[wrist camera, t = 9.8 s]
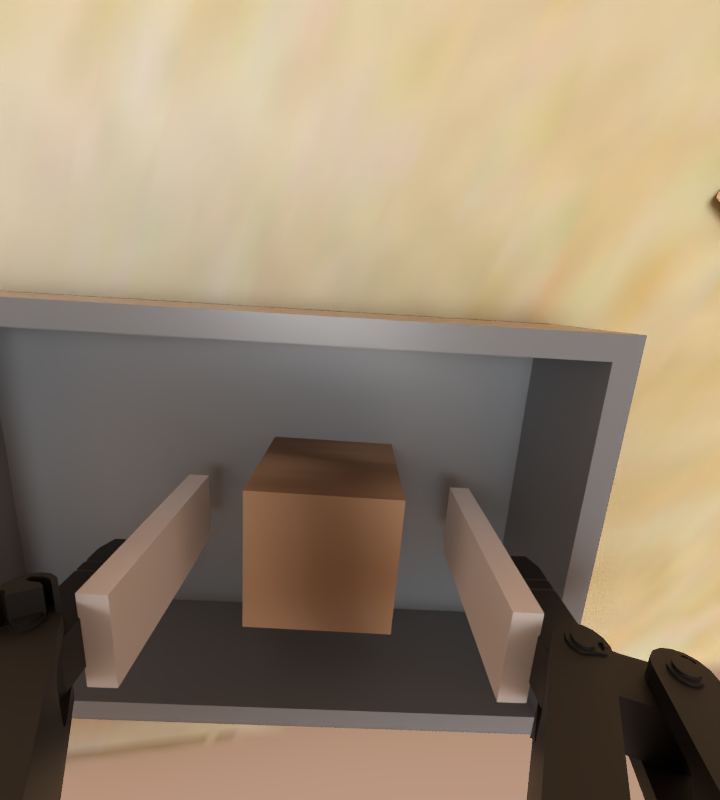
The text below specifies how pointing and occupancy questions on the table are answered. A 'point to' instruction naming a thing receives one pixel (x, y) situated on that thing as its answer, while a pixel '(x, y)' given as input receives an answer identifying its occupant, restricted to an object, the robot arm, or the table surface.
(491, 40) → the table surface
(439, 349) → the tote
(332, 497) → the walnut cube
